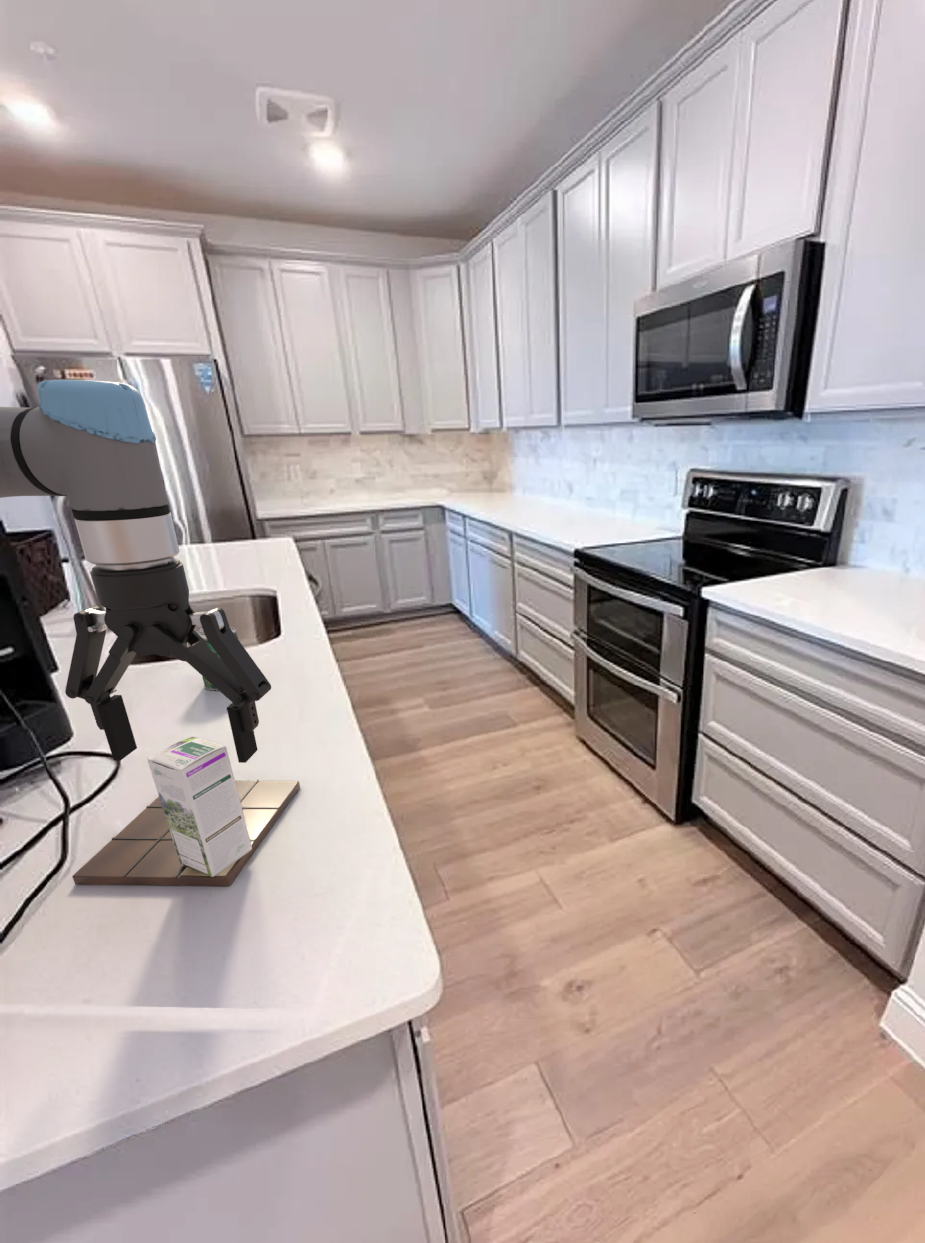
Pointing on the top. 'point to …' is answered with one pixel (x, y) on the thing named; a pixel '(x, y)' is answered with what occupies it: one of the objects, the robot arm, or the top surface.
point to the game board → (151, 851)
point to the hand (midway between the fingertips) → (187, 755)
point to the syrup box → (201, 804)
